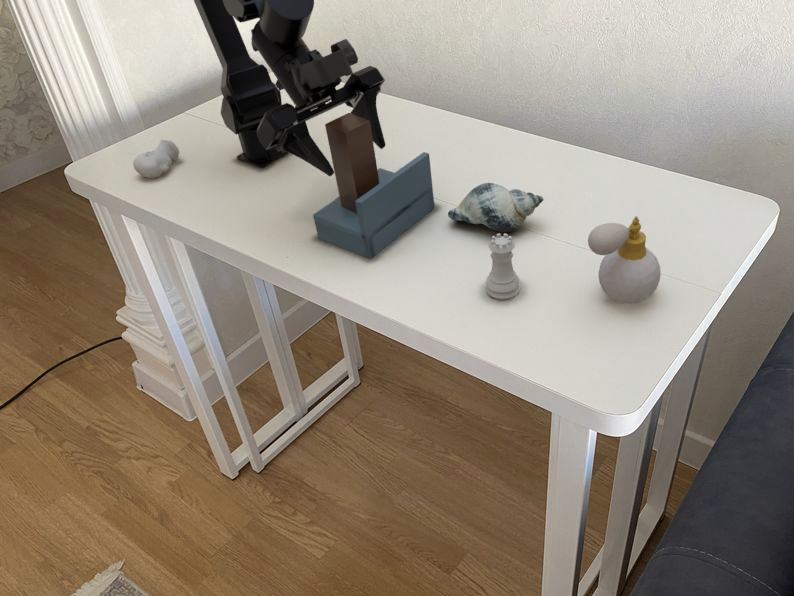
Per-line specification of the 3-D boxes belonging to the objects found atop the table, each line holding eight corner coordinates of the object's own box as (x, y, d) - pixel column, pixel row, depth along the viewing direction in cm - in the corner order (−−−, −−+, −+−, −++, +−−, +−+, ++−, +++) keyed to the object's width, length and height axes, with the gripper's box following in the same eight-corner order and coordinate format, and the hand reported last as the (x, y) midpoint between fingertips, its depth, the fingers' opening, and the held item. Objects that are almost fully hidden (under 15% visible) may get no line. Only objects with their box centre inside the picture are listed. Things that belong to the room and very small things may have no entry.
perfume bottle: (667, 290, 92) (681, 209, 84) (630, 332, 86) (641, 250, 78) (614, 270, 95) (623, 190, 87) (576, 310, 90) (581, 229, 82)
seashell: (472, 215, 110) (539, 238, 104) (442, 218, 104) (512, 243, 98) (480, 173, 107) (549, 194, 101) (450, 174, 101) (522, 197, 96)
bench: (318, 238, 105) (305, 183, 98) (383, 190, 113) (375, 137, 107) (370, 259, 100) (360, 203, 94) (434, 207, 109) (429, 153, 103)
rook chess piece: (483, 281, 95) (481, 230, 90) (517, 278, 95) (517, 227, 90) (487, 302, 92) (485, 251, 86) (522, 299, 92) (522, 247, 87)
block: (341, 206, 103) (324, 124, 95) (363, 193, 105) (349, 112, 97) (360, 216, 101) (345, 133, 92) (382, 203, 103) (369, 120, 95)
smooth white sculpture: (152, 189, 120) (130, 174, 121) (190, 167, 124) (168, 152, 125) (148, 169, 116) (125, 153, 118) (186, 147, 121) (165, 132, 122)
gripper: (245, 48, 84) (323, 163, 86) (365, 2, 94) (433, 106, 95) (226, 96, 94) (297, 198, 95) (337, 50, 103) (399, 144, 105)
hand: (358, 160), depth 98 cm, fingers open, 9 cm apart
